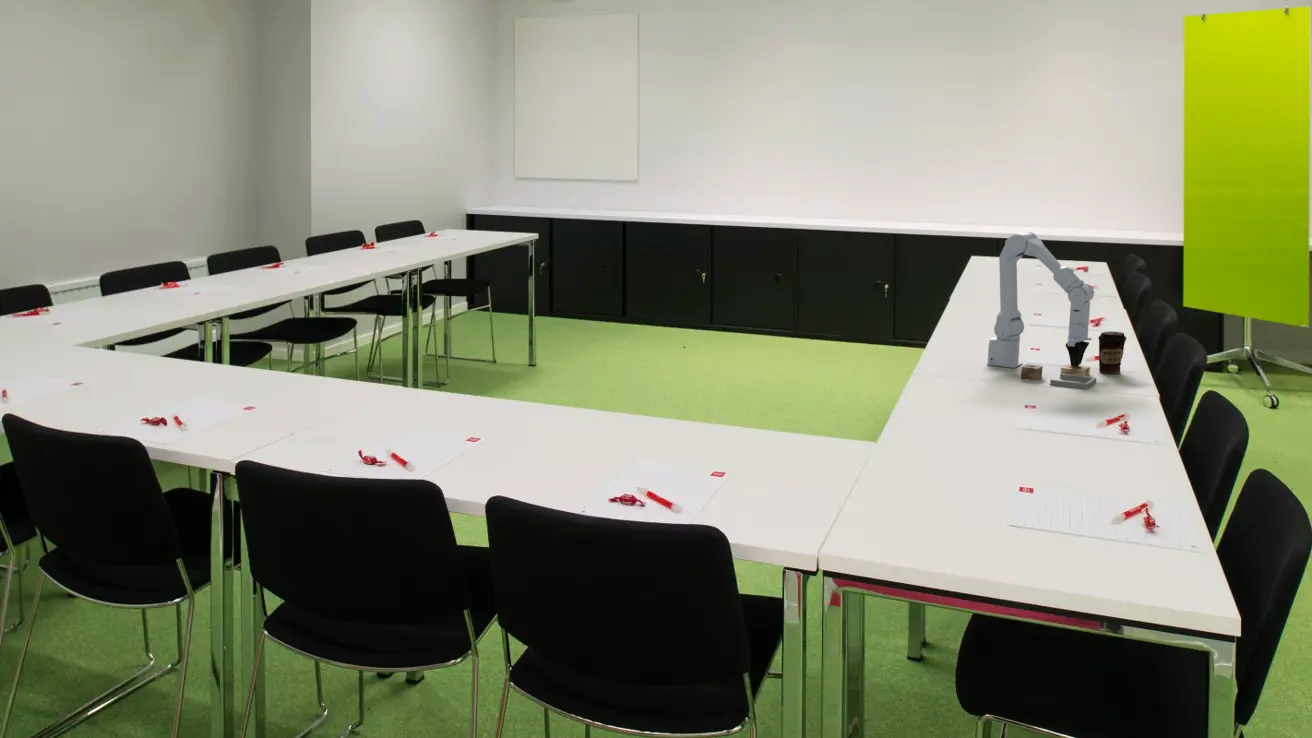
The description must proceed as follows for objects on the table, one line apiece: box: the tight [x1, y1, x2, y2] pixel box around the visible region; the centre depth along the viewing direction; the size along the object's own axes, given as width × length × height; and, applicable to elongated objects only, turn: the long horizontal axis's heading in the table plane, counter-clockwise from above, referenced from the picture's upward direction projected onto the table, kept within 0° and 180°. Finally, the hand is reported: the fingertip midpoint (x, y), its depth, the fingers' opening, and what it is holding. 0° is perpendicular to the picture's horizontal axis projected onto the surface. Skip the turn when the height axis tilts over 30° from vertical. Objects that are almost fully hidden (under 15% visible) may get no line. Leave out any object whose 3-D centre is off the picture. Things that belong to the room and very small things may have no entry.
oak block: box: [1060, 363, 1091, 377], centre depth 348 cm, size 7×7×3 cm
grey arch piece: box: [1049, 373, 1098, 390], centre depth 337 cm, size 11×11×2 cm
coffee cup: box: [1097, 331, 1127, 375], centre depth 350 cm, size 9×8×13 cm
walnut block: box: [1020, 363, 1043, 382], centre depth 344 cm, size 5×5×4 cm
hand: (1075, 365), depth 347 cm, fingers closed
